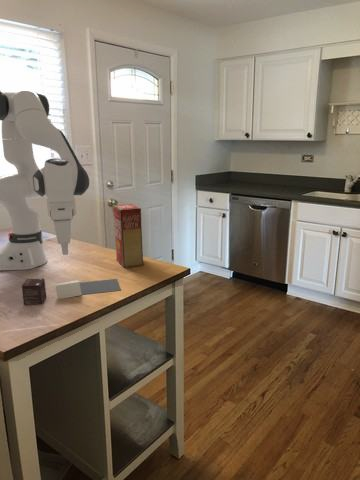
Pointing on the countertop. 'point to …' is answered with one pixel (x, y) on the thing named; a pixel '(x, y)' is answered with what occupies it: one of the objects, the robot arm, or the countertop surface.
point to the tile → (68, 289)
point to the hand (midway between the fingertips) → (65, 250)
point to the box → (34, 291)
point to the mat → (99, 286)
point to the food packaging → (128, 235)
